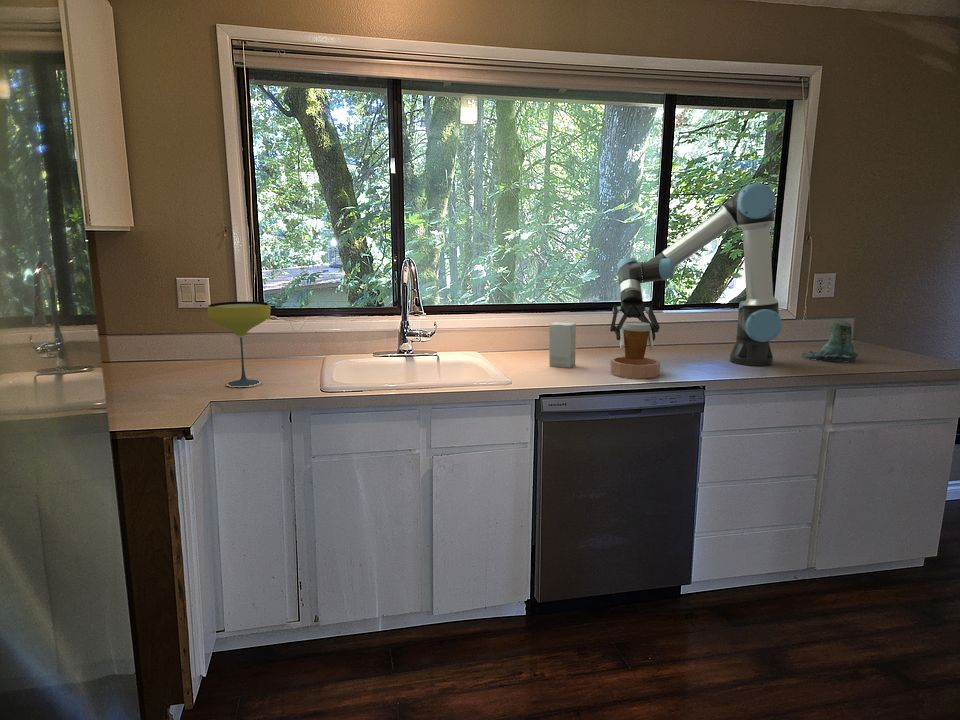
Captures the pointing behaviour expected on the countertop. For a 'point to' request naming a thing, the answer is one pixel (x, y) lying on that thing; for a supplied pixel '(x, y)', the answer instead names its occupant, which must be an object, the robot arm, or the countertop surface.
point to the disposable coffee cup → (635, 339)
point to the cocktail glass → (239, 324)
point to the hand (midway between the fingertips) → (636, 347)
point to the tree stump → (836, 345)
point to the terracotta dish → (635, 367)
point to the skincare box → (562, 344)
